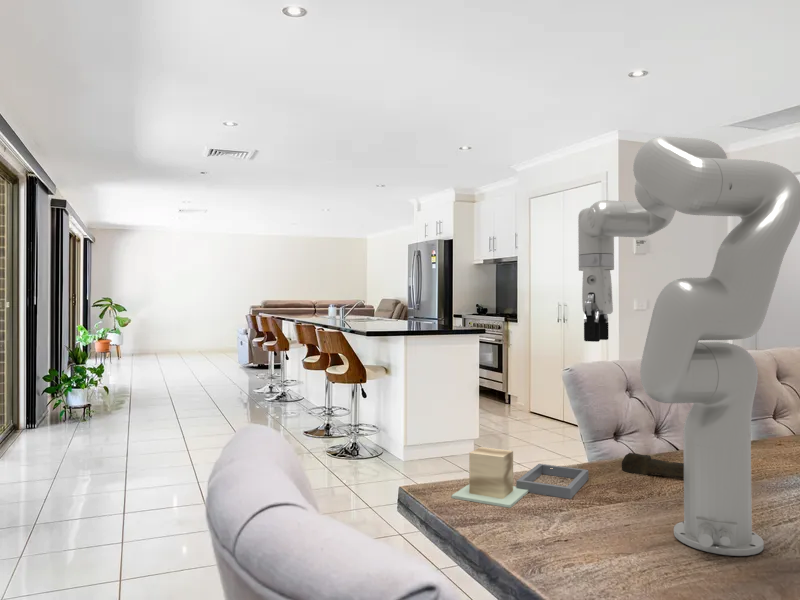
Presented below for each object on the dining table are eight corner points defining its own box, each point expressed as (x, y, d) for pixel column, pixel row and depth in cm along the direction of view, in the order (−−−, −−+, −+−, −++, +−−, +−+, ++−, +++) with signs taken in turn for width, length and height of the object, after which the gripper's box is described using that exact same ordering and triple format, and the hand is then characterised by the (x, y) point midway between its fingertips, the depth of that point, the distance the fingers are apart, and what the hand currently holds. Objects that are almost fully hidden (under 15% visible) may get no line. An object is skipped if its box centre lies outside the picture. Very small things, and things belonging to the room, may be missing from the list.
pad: (510, 507, 110) (510, 505, 110) (451, 497, 116) (451, 495, 116) (529, 491, 120) (529, 488, 120) (474, 482, 126) (475, 480, 126)
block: (503, 498, 114) (502, 457, 114) (469, 493, 117) (469, 452, 117) (513, 490, 119) (513, 450, 119) (480, 485, 123) (480, 446, 123)
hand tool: (716, 482, 128) (715, 460, 128) (713, 486, 125) (713, 464, 125) (624, 469, 138) (624, 449, 139) (620, 473, 135) (620, 453, 135)
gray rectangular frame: (570, 499, 115) (570, 488, 115) (516, 490, 121) (516, 480, 121) (588, 479, 129) (588, 469, 129) (538, 472, 135) (538, 463, 135)
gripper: (606, 259, 122) (606, 342, 122) (620, 265, 137) (621, 339, 137) (569, 261, 126) (570, 341, 125) (587, 266, 141) (587, 338, 140)
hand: (596, 340), depth 131 cm, fingers open, 9 cm apart
